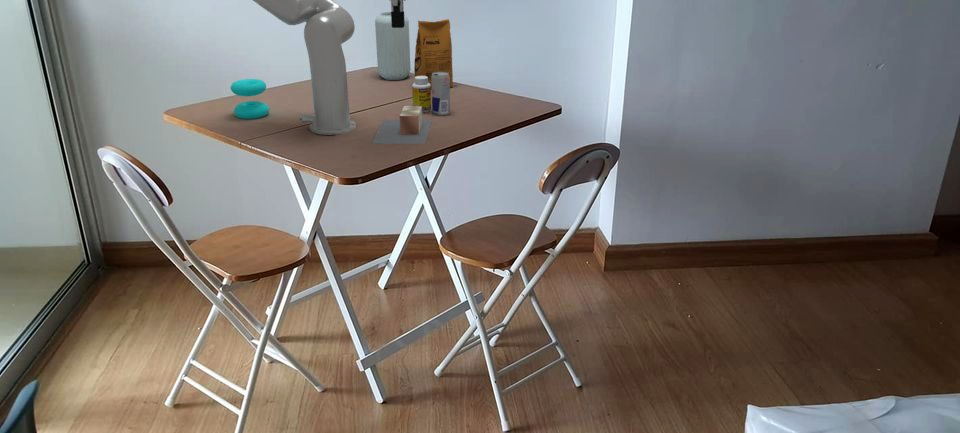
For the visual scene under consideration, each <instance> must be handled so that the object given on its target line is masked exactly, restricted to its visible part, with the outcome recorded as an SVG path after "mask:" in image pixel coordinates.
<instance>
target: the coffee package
mask: <svg viewBox="0 0 960 433" xmlns="http://www.w3.org/2000/svg"><path fill="white" fill-rule="evenodd" d="M417 22H418V23H417V24H418V25H417V27H418V30H417V34H416V35H417V36H416V39H415V42H416V43H415V51H414V54H415V55H414V68H413V69H414V71H413V72H414V78H415V77H416V76H427V77H428V83H430V85H431V89H432V83H431V76H432V73H434V72H447V73H449V76H450V88H452V87H453V84H454V83H453V80H454V79H453V78H454V76H453V74H454V73H453V44H452V38H451V36H452V34H451V23H450V19H449V18H447V19H442V20H437V21H428V20H427V21H425V20H417Z"/></svg>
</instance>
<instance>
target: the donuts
mask: <svg viewBox="0 0 960 433" xmlns="http://www.w3.org/2000/svg"><path fill="white" fill-rule="evenodd" d="M230 90H231V92H232V93H233V94H234V95H236V96H239V97H255V96H259V95H261V94H263V93H264V92H265V91H266V90H267V84H266V82H265V81H264V80H262V79H257V78H246V79H245V78H244V79H240V80H236V81H234V82H232V84H230ZM269 108H270V107H269V105H267V104H266V103H265V102H262V101H257V100H254V101H253V100H248V101H244V102H240V103H239V104H237V105H236V106H235V107H234V109H233V113H234V115H235V116H236V117H237V118H239V119H243V120H244V119H246V120H253V119H260V118H263V117H266V116H267V115H268V113H269V111H270V109H269Z"/></svg>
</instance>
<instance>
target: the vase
mask: <svg viewBox="0 0 960 433" xmlns="http://www.w3.org/2000/svg"><path fill="white" fill-rule="evenodd" d="M391 12H392V11H384V12H380V14H378V15H377V16H376V18H375V20H374V26H375V39H376V40H375V43H376V44H375V45H376V59H377V60H376V61H377V73H378V74H379V76H381V78H383V79H384V80H388V81H400V80H403V79H406V78H407V77H408V76H409V75H410V73H411V46H410V44H411V43H410V24H409V23H410V20H409V18H408V16H407V15H406V14H404V22H405V26H404V28H392V24H391Z"/></svg>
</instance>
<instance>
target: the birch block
mask: <svg viewBox="0 0 960 433" xmlns="http://www.w3.org/2000/svg"><path fill="white" fill-rule="evenodd" d="M399 120H400V134H419V132H420V129H421V126H422V120H423V113H422V106H413V105H404V106H403V108H402V110H401V112H400V114H399Z"/></svg>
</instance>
